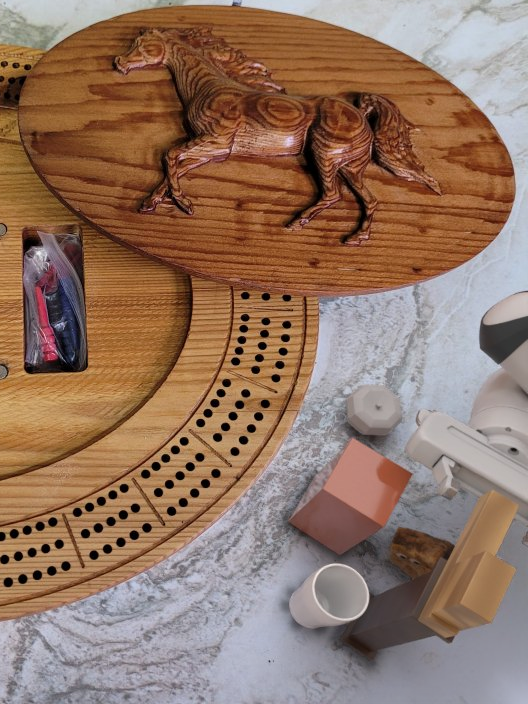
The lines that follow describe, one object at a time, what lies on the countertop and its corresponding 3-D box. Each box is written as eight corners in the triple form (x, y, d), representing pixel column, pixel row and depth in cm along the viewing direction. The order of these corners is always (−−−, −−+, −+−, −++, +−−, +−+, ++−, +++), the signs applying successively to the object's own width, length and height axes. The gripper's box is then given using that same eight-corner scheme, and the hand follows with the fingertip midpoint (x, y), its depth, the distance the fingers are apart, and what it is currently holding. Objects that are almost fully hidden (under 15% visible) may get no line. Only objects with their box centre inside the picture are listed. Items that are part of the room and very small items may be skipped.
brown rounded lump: (368, 560, 113) (395, 545, 104) (387, 524, 115) (415, 505, 106) (452, 613, 110) (489, 602, 100) (470, 574, 112) (508, 560, 102)
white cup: (323, 644, 109) (359, 632, 96) (275, 618, 111) (303, 603, 97) (341, 597, 111) (378, 579, 98) (293, 573, 113) (323, 552, 100)
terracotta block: (366, 508, 116) (413, 473, 100) (339, 555, 114) (384, 527, 98) (314, 476, 119) (352, 437, 103) (287, 521, 116) (322, 488, 100)
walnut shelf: (395, 612, 110) (481, 581, 87) (369, 661, 108) (452, 643, 84) (363, 591, 112) (440, 556, 88) (338, 639, 109) (410, 615, 86)
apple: (375, 387, 124) (390, 370, 118) (403, 434, 121) (419, 419, 115) (327, 404, 124) (340, 388, 118) (353, 452, 120) (368, 438, 114)
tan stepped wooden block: (506, 511, 90) (554, 488, 81) (445, 638, 85) (489, 628, 76) (479, 496, 91) (524, 471, 82) (417, 620, 86) (457, 608, 77)
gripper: (435, 386, 100) (413, 445, 90) (607, 481, 94) (604, 557, 84) (407, 421, 104) (383, 482, 94) (571, 515, 98) (564, 591, 88)
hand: (489, 518), depth 89 cm, fingers open, 8 cm apart
